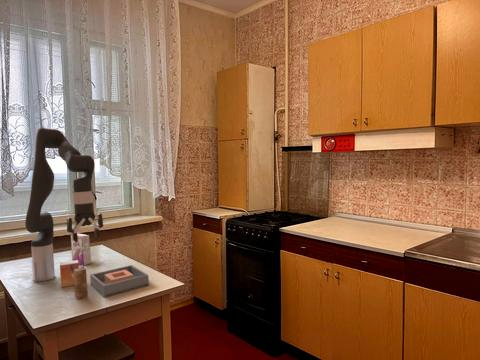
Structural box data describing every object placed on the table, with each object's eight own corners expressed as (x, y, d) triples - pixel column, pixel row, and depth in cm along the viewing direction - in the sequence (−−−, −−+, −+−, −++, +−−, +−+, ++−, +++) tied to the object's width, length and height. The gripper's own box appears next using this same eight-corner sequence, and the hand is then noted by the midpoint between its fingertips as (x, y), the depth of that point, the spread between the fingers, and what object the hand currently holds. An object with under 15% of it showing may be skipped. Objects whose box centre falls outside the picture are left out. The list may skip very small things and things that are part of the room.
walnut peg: (77, 299, 145) (76, 271, 144) (75, 296, 148) (73, 269, 147) (87, 296, 147) (86, 269, 146) (85, 294, 150) (83, 267, 149)
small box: (60, 287, 159) (59, 265, 158) (60, 284, 164) (59, 262, 163) (80, 284, 162) (78, 262, 162) (79, 280, 167) (78, 259, 167)
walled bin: (104, 297, 146) (103, 286, 145) (90, 284, 161) (90, 274, 161) (148, 285, 158) (148, 274, 158) (132, 274, 174) (131, 264, 173)
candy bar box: (71, 263, 197) (69, 234, 196) (79, 260, 201) (78, 233, 200) (83, 265, 191) (81, 236, 190) (91, 263, 195) (89, 234, 194)
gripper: (97, 200, 154) (99, 235, 155) (63, 203, 144) (65, 241, 145) (103, 200, 148) (106, 237, 149) (69, 204, 139) (72, 244, 139)
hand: (86, 239), depth 147 cm, fingers open, 8 cm apart
